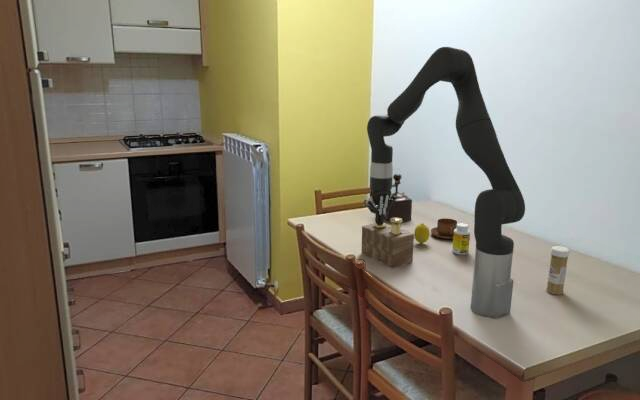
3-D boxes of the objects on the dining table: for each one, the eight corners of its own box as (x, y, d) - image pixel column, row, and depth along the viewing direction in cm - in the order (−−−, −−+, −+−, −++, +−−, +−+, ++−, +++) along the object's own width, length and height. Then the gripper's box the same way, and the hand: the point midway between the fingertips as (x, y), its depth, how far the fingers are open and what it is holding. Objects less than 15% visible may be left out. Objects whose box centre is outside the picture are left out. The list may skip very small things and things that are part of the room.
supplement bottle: (461, 256, 170) (463, 228, 167) (448, 251, 174) (450, 224, 172) (471, 253, 173) (474, 225, 170) (459, 248, 177) (461, 221, 175)
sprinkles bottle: (542, 290, 143) (548, 246, 140) (554, 287, 145) (559, 244, 142) (555, 296, 139) (561, 252, 136) (567, 293, 141) (573, 249, 138)
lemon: (411, 245, 181) (412, 224, 179) (416, 240, 185) (417, 220, 183) (426, 247, 178) (427, 226, 176) (430, 242, 183) (431, 222, 181)
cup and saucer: (468, 239, 188) (470, 223, 186) (442, 243, 183) (443, 227, 182) (449, 230, 199) (450, 215, 197) (424, 233, 194) (425, 218, 193)
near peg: (403, 247, 164) (404, 219, 161) (394, 250, 161) (395, 221, 159) (395, 244, 167) (396, 216, 164) (386, 246, 165) (387, 218, 162)
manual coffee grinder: (413, 220, 210) (415, 179, 206) (389, 222, 207) (390, 181, 203) (398, 211, 225) (400, 172, 220) (375, 213, 222) (377, 174, 217)
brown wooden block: (412, 262, 165) (414, 233, 162) (392, 267, 160) (393, 238, 157) (380, 248, 177) (381, 221, 175) (361, 253, 172) (362, 226, 170)
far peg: (386, 251, 171) (387, 224, 168) (378, 254, 169) (379, 226, 166) (379, 248, 174) (380, 221, 172) (370, 250, 172) (371, 223, 169)
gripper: (373, 179, 158) (372, 230, 162) (403, 174, 165) (401, 223, 170) (358, 175, 164) (357, 225, 168) (388, 171, 171) (386, 218, 176)
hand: (379, 224), depth 169 cm, fingers closed
